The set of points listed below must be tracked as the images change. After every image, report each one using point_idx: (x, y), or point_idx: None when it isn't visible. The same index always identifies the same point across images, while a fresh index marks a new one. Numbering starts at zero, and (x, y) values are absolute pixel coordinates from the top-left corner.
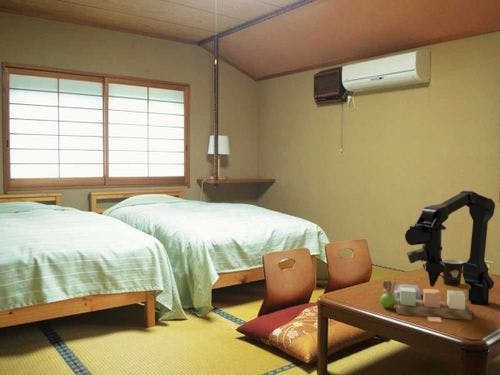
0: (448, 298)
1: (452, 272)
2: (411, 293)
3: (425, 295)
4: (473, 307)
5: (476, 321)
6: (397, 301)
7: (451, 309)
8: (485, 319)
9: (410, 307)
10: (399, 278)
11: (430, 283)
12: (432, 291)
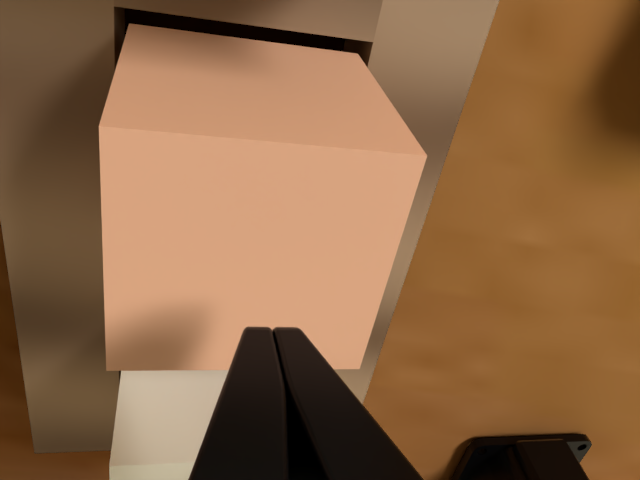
0: (209, 388)
1: None
2: None
3: (103, 110)
4: (392, 438)
5: (20, 418)
6: None
7: (94, 323)
8: (102, 468)
9: None
10: None
11: (226, 381)
12: (234, 280)
